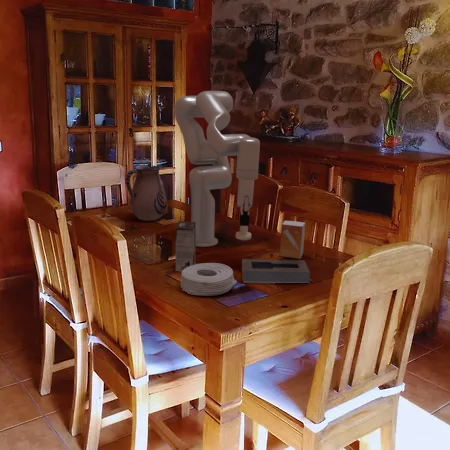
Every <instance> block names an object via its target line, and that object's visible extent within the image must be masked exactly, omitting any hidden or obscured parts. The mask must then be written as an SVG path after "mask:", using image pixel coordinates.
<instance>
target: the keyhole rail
mask: <svg viewBox="0 0 450 450" xmlns="http://www.w3.org/2000/svg"><path fill="white" fill-rule="evenodd" d="M241 274H242V283H243V284H275V283H309V284H310V281H311V280H310V278H311V271H310V270H309V267H308V265H307V263H306V261H305V260H300V259H299V260H298V259H293V260H292V259H259V258H258V259H257V258H256V259H253V258H252V259H251V258H242V260H241Z"/></svg>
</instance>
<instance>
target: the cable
mask: <svg viewBox="0 0 450 450" xmlns="http://www.w3.org/2000/svg"><path fill="white" fill-rule="evenodd" d="M237 282H238V280H237V279H235V277H234V271H233V269H232V268H231V267H230V266H228V265H226V264H224V263H220V262H219V263H216V262H205V263H203V262H202V263H195V265H192V266H189V267H187V268H185V269H184V270H183V271H182V272H181V277H180V289H181V288H182V289H181V290H182V291H183V292H184V291H185V292H184V293H186V292H187V293H186V294H189V295H193V296H205V297H210V296H213V297H214V296H218V295H223V294H226V293H228V292H229V291H230V290H231V289H232V288H233V287H234V286H236V285H237Z"/></svg>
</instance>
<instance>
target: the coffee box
mask: <svg viewBox="0 0 450 450" xmlns="http://www.w3.org/2000/svg"><path fill="white" fill-rule="evenodd" d="M195 231H196V222H191V221H187V220H185V221H184V220H183V221H181V220H180V221H178V222H177V224H176V227H175V272H176V271H180V272H179V273H182V271H183V270H184V269H185V268H187V267H189V266H192V265H196V246H195Z"/></svg>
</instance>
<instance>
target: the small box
mask: <svg viewBox="0 0 450 450" xmlns="http://www.w3.org/2000/svg"><path fill="white" fill-rule="evenodd" d="M305 229H306V221H305V222H301V221H293V220H284V221H283V223H281V231H280V232H281V233H280V248H279V249H280V250H279V256H280V257H283V258H285V257H286V258H291V259H292V258H293V259H297V260H298V259H299V260H300V259H301V258H302V257H303V254H304V245H305V243H304V242H305V231H306V230H305Z"/></svg>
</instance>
